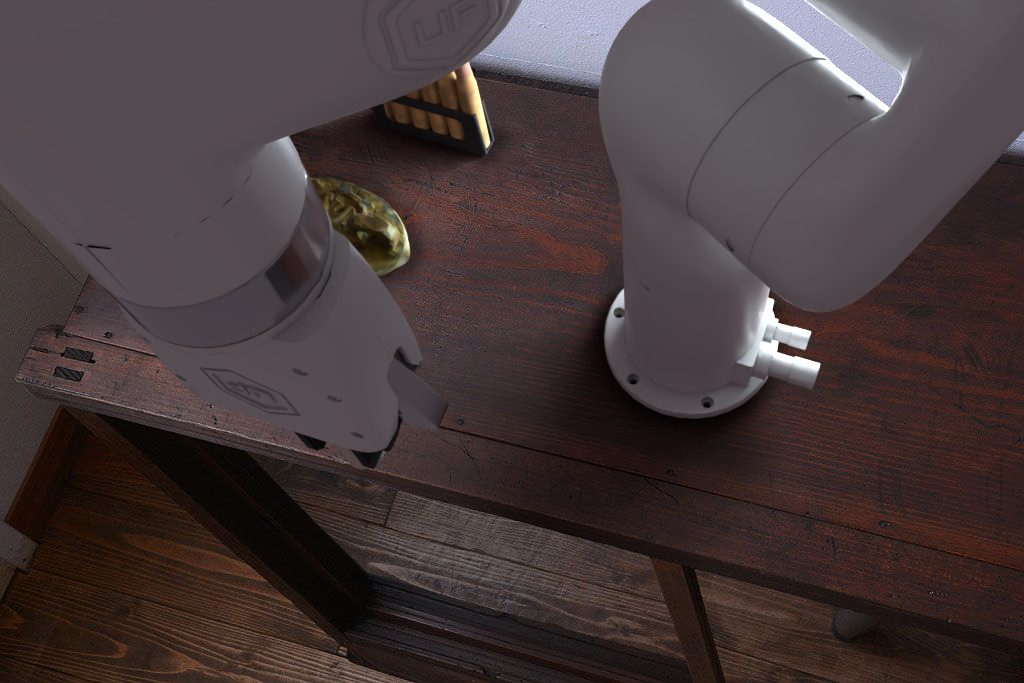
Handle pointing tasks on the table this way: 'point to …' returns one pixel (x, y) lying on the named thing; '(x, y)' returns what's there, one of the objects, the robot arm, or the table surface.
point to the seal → (365, 223)
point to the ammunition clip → (442, 113)
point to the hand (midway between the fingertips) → (353, 430)
